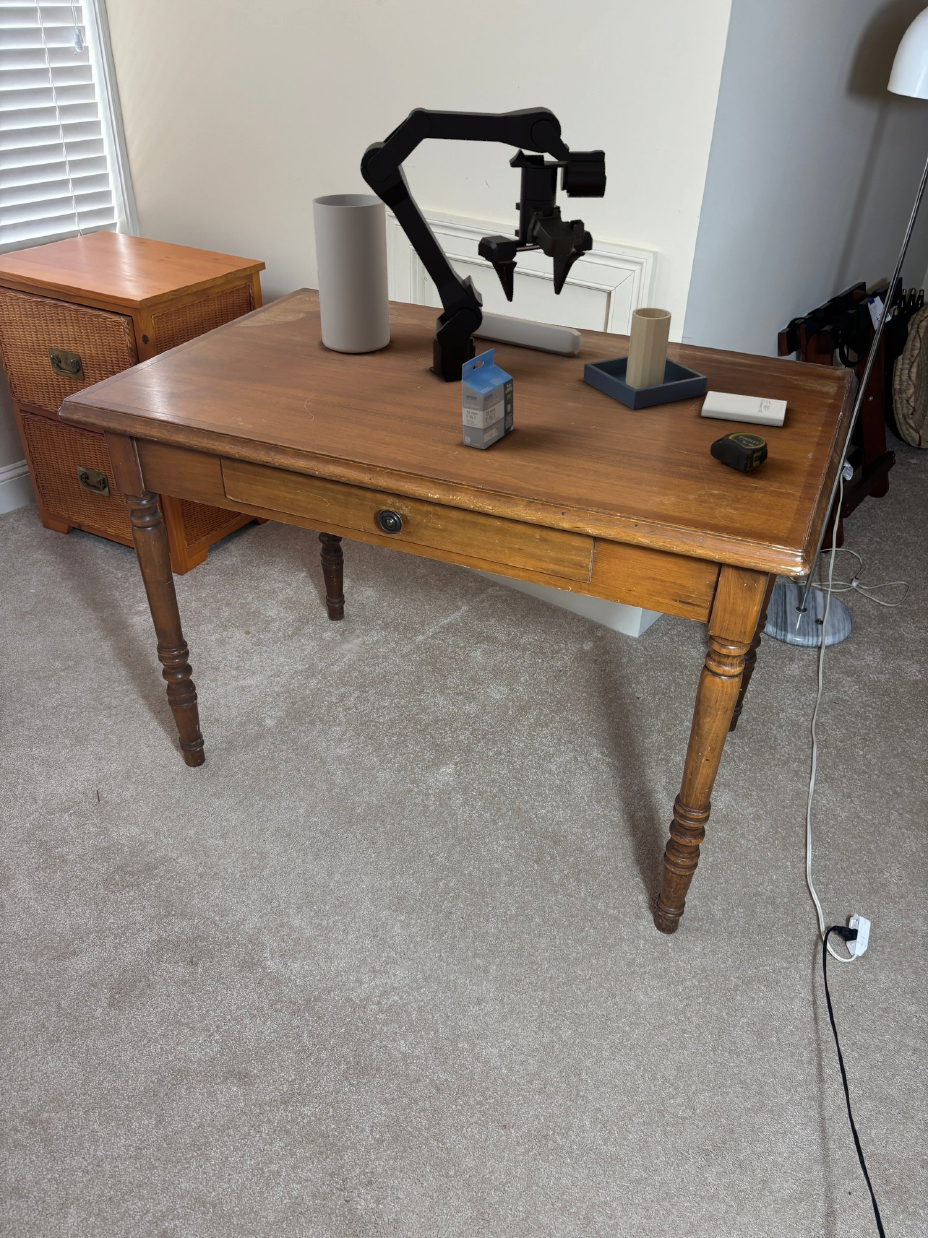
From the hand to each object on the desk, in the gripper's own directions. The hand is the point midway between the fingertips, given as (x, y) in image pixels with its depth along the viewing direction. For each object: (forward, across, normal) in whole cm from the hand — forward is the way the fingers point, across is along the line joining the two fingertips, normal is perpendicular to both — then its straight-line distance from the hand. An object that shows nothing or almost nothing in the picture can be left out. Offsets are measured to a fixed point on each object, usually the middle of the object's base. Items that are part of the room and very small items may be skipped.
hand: (533, 297), depth 164 cm
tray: (+13, +14, -14) cm, 24 cm away
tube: (+13, +6, +14) cm, 20 cm away
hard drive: (+13, +21, -31) cm, 40 cm away
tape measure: (+13, +7, -46) cm, 48 cm away
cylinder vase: (+13, -21, +28) cm, 37 cm away
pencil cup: (+12, +14, -14) cm, 23 cm away
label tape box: (+13, -20, -21) cm, 32 cm away
